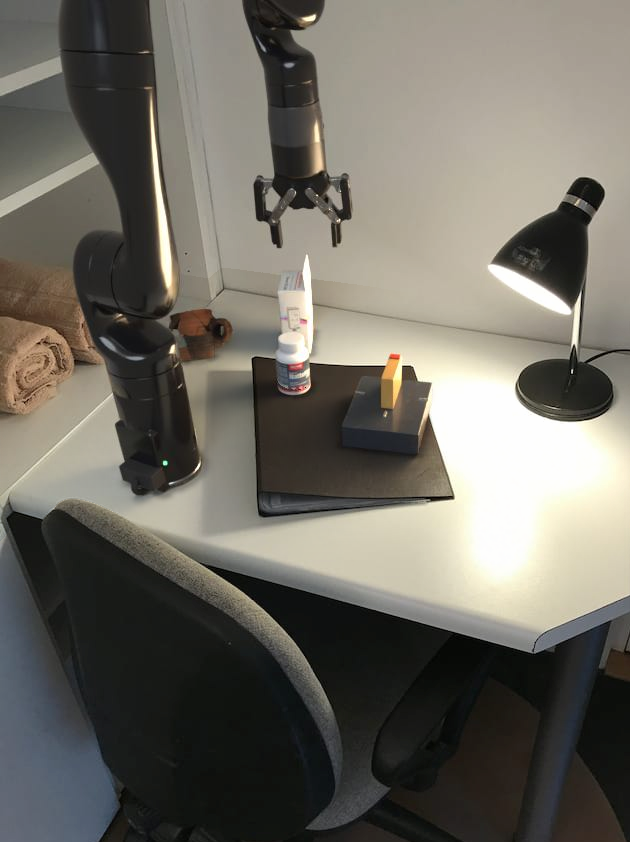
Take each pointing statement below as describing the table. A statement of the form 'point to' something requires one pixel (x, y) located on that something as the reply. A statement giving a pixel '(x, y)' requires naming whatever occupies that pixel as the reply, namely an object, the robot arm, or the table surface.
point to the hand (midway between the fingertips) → (307, 245)
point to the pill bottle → (292, 363)
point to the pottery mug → (200, 333)
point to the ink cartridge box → (296, 303)
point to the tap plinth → (387, 417)
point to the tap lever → (391, 381)
